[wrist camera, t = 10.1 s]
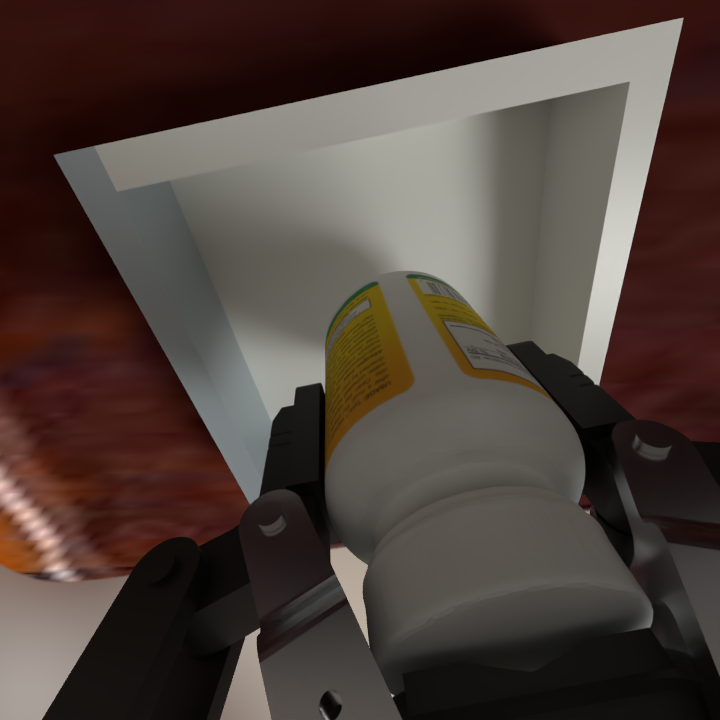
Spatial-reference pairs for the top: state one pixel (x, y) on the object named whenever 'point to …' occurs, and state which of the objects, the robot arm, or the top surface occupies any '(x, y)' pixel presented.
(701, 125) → the top surface
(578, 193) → the box
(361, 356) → the supplement bottle
